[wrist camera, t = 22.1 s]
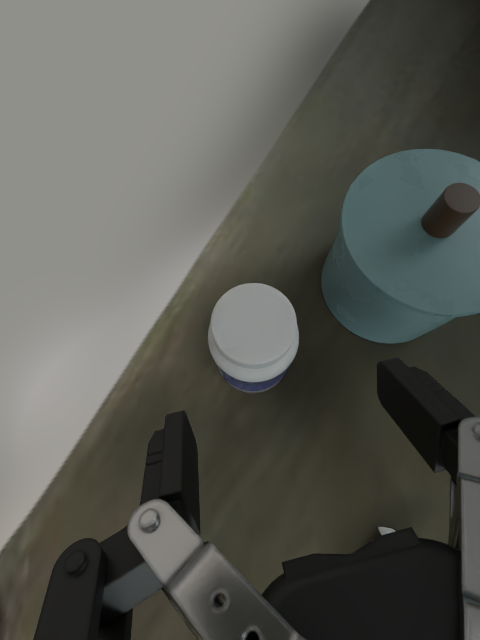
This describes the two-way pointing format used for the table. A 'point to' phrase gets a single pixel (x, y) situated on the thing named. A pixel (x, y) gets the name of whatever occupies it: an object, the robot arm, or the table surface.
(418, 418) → the robot arm
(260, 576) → the table surface
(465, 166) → the pot
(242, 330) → the pill bottle
